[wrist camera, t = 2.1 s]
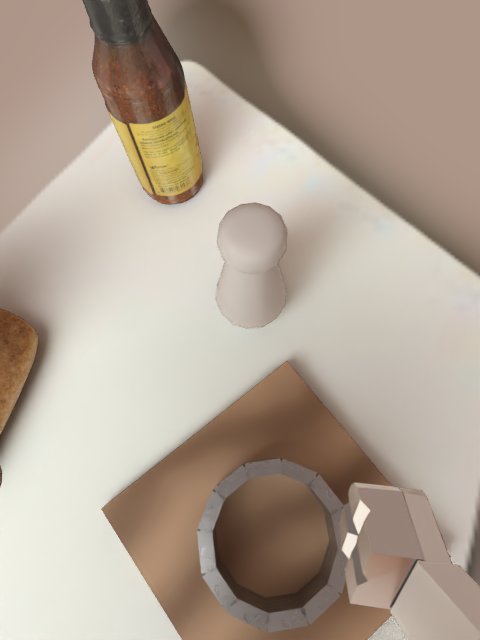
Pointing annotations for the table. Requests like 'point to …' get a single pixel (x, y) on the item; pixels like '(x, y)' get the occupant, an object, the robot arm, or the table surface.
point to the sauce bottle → (146, 98)
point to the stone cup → (14, 360)
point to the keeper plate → (247, 514)
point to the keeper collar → (280, 608)
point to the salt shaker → (251, 265)
